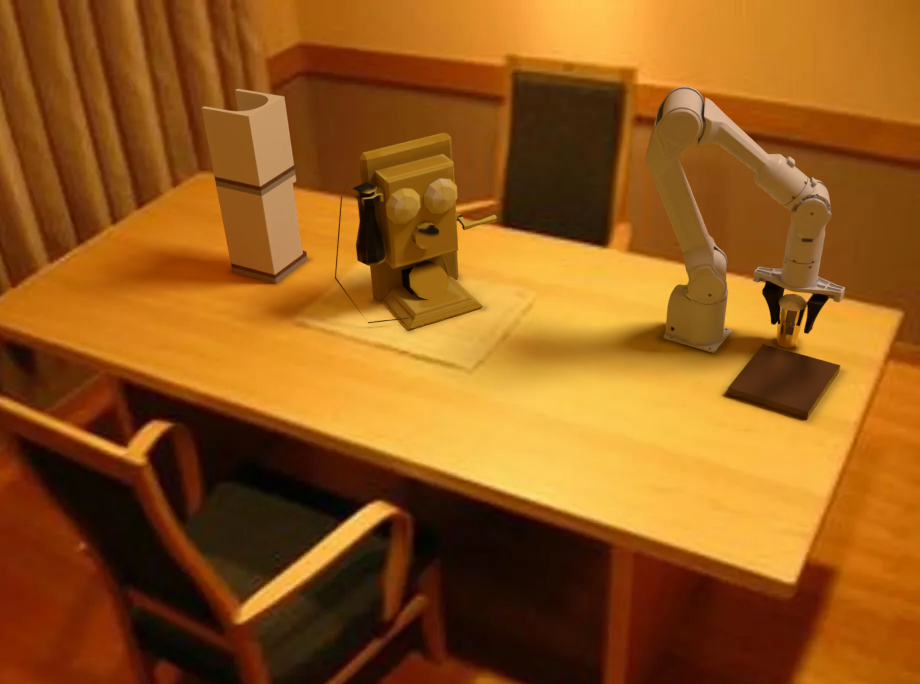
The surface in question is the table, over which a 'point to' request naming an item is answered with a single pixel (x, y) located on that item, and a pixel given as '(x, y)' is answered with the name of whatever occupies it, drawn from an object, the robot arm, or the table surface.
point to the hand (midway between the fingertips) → (791, 326)
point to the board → (784, 381)
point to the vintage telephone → (412, 230)
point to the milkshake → (790, 319)
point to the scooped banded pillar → (256, 185)
